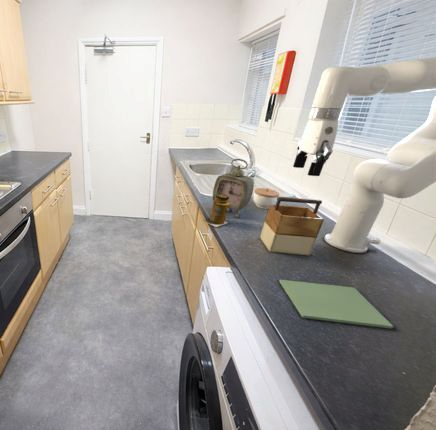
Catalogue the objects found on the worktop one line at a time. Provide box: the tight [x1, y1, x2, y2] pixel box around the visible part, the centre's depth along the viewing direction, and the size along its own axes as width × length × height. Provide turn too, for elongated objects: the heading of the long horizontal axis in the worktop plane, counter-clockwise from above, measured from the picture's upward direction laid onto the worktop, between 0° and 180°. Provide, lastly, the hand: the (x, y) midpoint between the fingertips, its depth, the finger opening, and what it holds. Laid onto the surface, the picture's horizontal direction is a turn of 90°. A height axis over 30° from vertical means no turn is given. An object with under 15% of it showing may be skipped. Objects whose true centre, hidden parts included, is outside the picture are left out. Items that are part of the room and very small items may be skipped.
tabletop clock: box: [212, 158, 255, 218], centre depth 118 cm, size 14×9×25 cm, turn 44°
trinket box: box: [252, 187, 280, 210], centre depth 129 cm, size 11×11×9 cm
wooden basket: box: [264, 196, 325, 239], centre depth 91 cm, size 13×10×12 cm
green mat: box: [278, 279, 394, 329], centre depth 70 cm, size 20×14×1 cm
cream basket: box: [259, 221, 317, 256], centre depth 95 cm, size 13×10×7 cm
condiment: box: [202, 194, 229, 228], centre depth 111 cm, size 7×8×12 cm
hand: (305, 171), depth 85 cm, fingers open, 9 cm apart
